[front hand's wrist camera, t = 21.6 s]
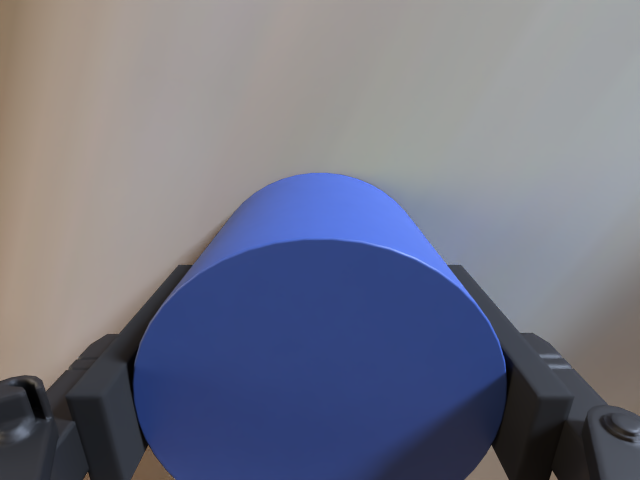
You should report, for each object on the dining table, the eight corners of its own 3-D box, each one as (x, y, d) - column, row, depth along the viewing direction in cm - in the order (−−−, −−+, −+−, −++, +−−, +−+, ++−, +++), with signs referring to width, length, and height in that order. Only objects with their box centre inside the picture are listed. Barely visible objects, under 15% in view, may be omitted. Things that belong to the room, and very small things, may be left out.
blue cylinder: (278, 390, 18) (252, 567, 11) (172, 233, 15) (49, 341, 8) (455, 318, 16) (550, 471, 10) (374, 130, 14) (428, 159, 7)
